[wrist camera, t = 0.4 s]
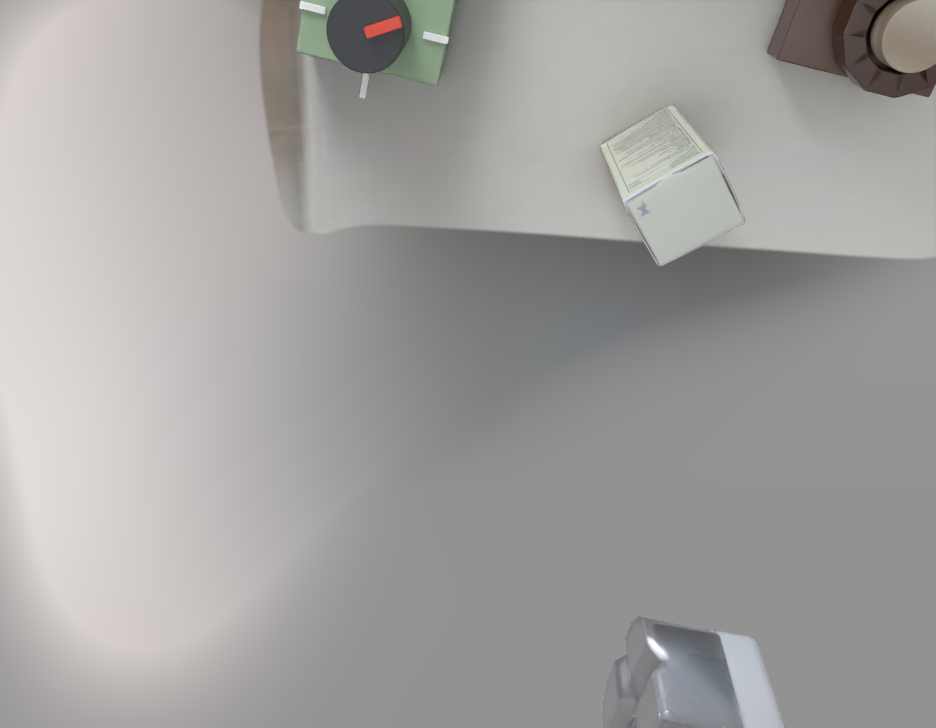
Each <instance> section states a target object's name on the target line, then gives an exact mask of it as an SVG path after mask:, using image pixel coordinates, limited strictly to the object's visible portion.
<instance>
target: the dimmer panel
mask: <svg viewBox="0 0 936 728" xmlns="http://www.w3.org/2000/svg"><path fill="white" fill-rule="evenodd" d="M337 1H338V0H303V2H302V1H300V7H299V8H300V9H302V12H301V20H300V29H299V37H298V45H297V52H299V53H303V54H307V55H311V56H315V57H320V58H324V59H328V60H332V61H336V62H340V61H339V60H338V59H337V58H336V56H335V55H334V53H333V52H332V50H331V48H330V46H329V43H328V39H327V32H326V26H327V19H328V16H329V13H330V11H331V9H332V7H333V6H334V4H335V3H336V2H337ZM404 2H405V3H406V5H407V7H408V10H409V13H410V17H411V32H410V36H409V39H408V41H407V43H406V45H405V47H404V48H403V50H402V51H401V53H400V55H399V56H398V58H397V59H396V60H395V61H394V62H393V64H391V65H390V66H389V67H388V68H386V69H384V70H382V71H379V72H382V73H386V74H390V75H395V76H399V77H403V78H407V79H411V80H415V81H420V82H424V83H428V84H432V85H436V86H437V85H438V82H439V80H440V77H441V74H442V69H443V64H444V59H445V54H446V49H447V44H448V40H449V34H450V29H451V24H452V19H453V14H454V10H455V5H456V0H404ZM340 63H341V62H340ZM369 76H370V74H369V73H363V77H362V83H361V89H360V95H359V98H363V99H366V94H367V88H368V82H369Z"/></svg>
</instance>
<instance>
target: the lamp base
mask: <svg viewBox="0 0 936 728" xmlns="http://www.w3.org/2000/svg"><path fill="white" fill-rule="evenodd" d="M893 1H894V0H787V1H786V4H785V7H784V9H783V12H782V15H781V17H780V20H779V23H778V25H777V28H776V31H775V33H774V36H773V39H772V41H771V44H770V47H769V49H768V53H769V54H770V55H771V56H773V57H774V58H776V59H777V60H780V61H784V62H788V63H792V64H796V65H800V66H804V67H808V68H813V69H817V70H821V71H825V72H829V73H833V74H837V75H841V76H845V77H849V78H850V80H851V81H852V82H853V83H854V84H855V85H857V86H859V87H860V88H862V89H864V90H865V91H868V92H872V93H876V94H881V95H885V96H889V97H893V98H895V97H896V98H897V97H900V96H904V95H908V94H911V93H913V94H917V95H921V96H925V97H929V96H930V95H931V92H932V90H933V88H934V86H935V84H936V64H935V65H933V66H932V67H930V68H928V69H926V70H924V71H921V72H916V73H904V72H900V71H897V70H895V69H893V68H891V67H889V66H887V65H885V64H883V63H882V62H880V61H879V60H878V59H877V58H876V56H875V55H874V53H873V51H872V48H871V43H870V35H871V30H872V27H873V24H874V22H875V20H876V18H877V16H878V15H879V13H880V12H881V11H882V10H883V9H884V8H885V7H886V6H887V5H888V4H890V3H891V2H893Z"/></svg>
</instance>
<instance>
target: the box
mask: <svg viewBox="0 0 936 728" xmlns="http://www.w3.org/2000/svg"><path fill="white" fill-rule="evenodd" d="M600 148H601V151H602V154H603V156H604V158H605V161H606V163H607V165H608V168H609V170H610V172H611V175H612V177H613V180H614V182H615V185H616V187H617V190H618V192H619V195H620V197H621V200H622V203H623V205H624V206H625V208H626V210H627V212H628V214H629V216H630V218H631V220H632V222H633V224H634V226H635V227H636V229H637V231H638V233H639V235H640V236H641V238H642V240H643V242H644V243H645V245H646V247H647V248H648V250H649V251H650V253H651V255H652V257H653V258H654V260H655V262H656V263H657V265H658V266H662V265H665V264H667V263H669V262H671V261H673V260H675V259H677V258H679V257H681V256H683V255H685V254H687V253H689V252H691V251H693V250H695V249H697V248H699V247H701V246H703V245H705V244H706V243H708V242H710V241H712V240H714V239H716V238H718V237H719V236H721V235H723V234H725V233H727V232H729V231H731V230H732V229H734V228H736V227H738V226H740V225H742V224H743V223H745V217H744V215H743V212H742V210H741V208H740V205H739V203H738V200H737V198H736V196H735V193H734V191H733V189H732V187H731V184H730V182H729V180H728V178H727V176H726V173H725V171H724V169H723V167H722V165H721V163H720V161H719V159H718V157H717V154H716V153H715V152H714V151H713V150H712V149H711V148H710V147H709V146H708V144H707V143H706V142H705V141H704V140H703V139H702V137H701V136H700V135H699V134H698V133H697V131H696V130H695V129H694V128H693V127H692V126H691V125H690V123H689V122H688V121H687V120H686V118H685V117H684V116H683V115H682V113H681V112H680V111H679V110H678V109H677V107H676V106H675V105H670V106H667V107H666V108H664V109H662V110H660V111H658V112H656V113H654V114H653V115H651V116H649V117H647V118H645V119H644V120H642V121H640V122H639V123H637V124H635V125H633V126H632V127H630V128H628V129H627V130H625V131H623V132H621V133H620V134H618V135H617V136H615V137H613V138H612V139H610V140H608V141H607V142H605V143H604V144H602V145H601V146H600Z"/></svg>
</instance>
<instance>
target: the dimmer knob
mask: <svg viewBox="0 0 936 728" xmlns="http://www.w3.org/2000/svg"><path fill="white" fill-rule="evenodd" d="M326 32H327V39H328V43H329V46H330V48H331V50H332V52H333V53H334V55H335V56H336V58H337V59H338V60H339V61H340V62H341V63H342V64H343V65H345V66H346V67H348V68H349V69H351V70H354V71H357V72H360V73H375V72H379V71H382V70H384V69H386V68H388V67H389V66H390V65H391V64H393V62H394V61H395V60H396V59H397V58H398V56H399V55H400V53H401V51H402V50H403V48H404V47H405V45H406V43H407V41H408V39H409V36H410V32H411V17H410V13H409V10H408V7H407V5H406V3H405V2H404V0H338V1H337V2H336V3H335V4H334V6H333V7H332V9H331V11H330V13H329V16H328V19H327V26H326Z"/></svg>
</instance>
